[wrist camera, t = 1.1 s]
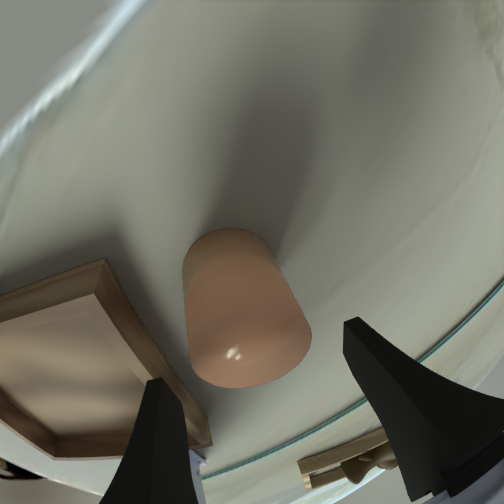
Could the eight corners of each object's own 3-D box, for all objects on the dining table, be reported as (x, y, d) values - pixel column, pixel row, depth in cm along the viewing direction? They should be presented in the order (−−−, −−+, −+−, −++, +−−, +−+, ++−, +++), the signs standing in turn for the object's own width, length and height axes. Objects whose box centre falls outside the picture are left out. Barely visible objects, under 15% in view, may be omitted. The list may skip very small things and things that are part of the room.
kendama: (365, 459, 49) (325, 457, 38) (404, 434, 47) (378, 425, 37) (377, 480, 44) (339, 487, 33) (417, 455, 43) (396, 456, 32)
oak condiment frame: (422, 428, 49) (427, 436, 47) (303, 481, 47) (307, 491, 45) (445, 391, 39) (452, 402, 37) (297, 461, 37) (301, 474, 35)
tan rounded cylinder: (278, 289, 18) (314, 366, 13) (198, 314, 18) (211, 398, 13) (263, 216, 16) (306, 288, 11) (169, 245, 15) (169, 330, 10)
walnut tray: (207, 417, 25) (212, 445, 22) (56, 437, 23) (54, 460, 21) (105, 257, 15) (93, 293, 12) (-62, 321, 13) (-76, 347, 11)
